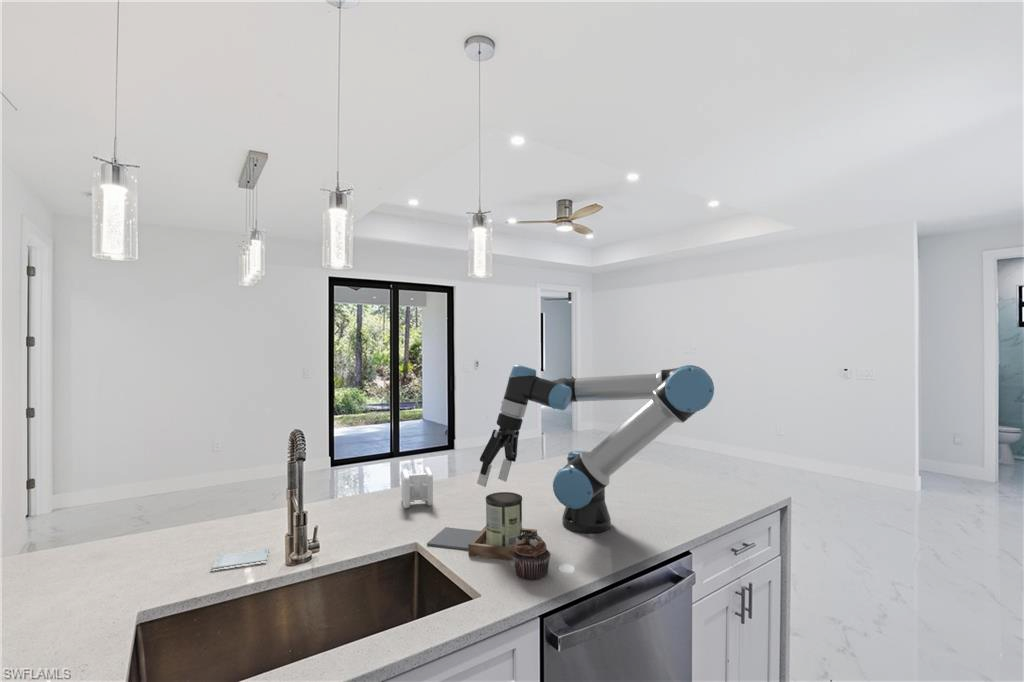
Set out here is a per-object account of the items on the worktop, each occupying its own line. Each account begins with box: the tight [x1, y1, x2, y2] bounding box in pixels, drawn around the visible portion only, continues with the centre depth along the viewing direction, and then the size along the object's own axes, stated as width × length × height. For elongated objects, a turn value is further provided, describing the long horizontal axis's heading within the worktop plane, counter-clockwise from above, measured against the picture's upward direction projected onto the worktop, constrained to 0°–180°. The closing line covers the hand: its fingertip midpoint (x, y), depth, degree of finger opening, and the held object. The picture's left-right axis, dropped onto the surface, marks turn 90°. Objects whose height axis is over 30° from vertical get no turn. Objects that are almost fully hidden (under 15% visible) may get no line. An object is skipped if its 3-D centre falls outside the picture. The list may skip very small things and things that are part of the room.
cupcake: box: [511, 530, 551, 581], centre depth 120 cm, size 10×10×10 cm
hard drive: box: [211, 548, 270, 570], centre depth 127 cm, size 2×8×12 cm
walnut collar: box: [467, 525, 538, 562], centre depth 136 cm, size 15×15×3 cm
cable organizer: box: [400, 466, 434, 509], centre depth 175 cm, size 15×11×12 cm
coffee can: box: [485, 491, 523, 548], centre depth 136 cm, size 10×10×14 cm
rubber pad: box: [426, 526, 481, 551], centre depth 142 cm, size 13×13×1 cm
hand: (492, 482), depth 147 cm, fingers open, 13 cm apart
